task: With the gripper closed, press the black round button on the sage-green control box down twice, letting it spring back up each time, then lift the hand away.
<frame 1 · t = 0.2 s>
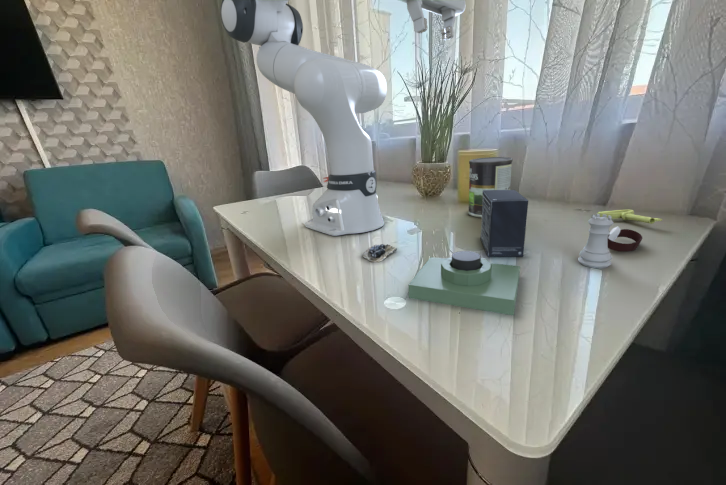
hand: (435, 35, 58), 39 cm above the table, tool pointing down, fingers open, 8 cm apart
spray button: (465, 261, 47), point 4 cm above the table, slide at 0.1 cm
small box: (500, 248, 62), on the table
blueberries: (379, 255, 64), on the table
watch: (621, 248, 58), on the table
coffee can: (488, 213, 86), on the table
button box: (465, 288, 48), on the table
rook chess piece: (593, 264, 52), on the table
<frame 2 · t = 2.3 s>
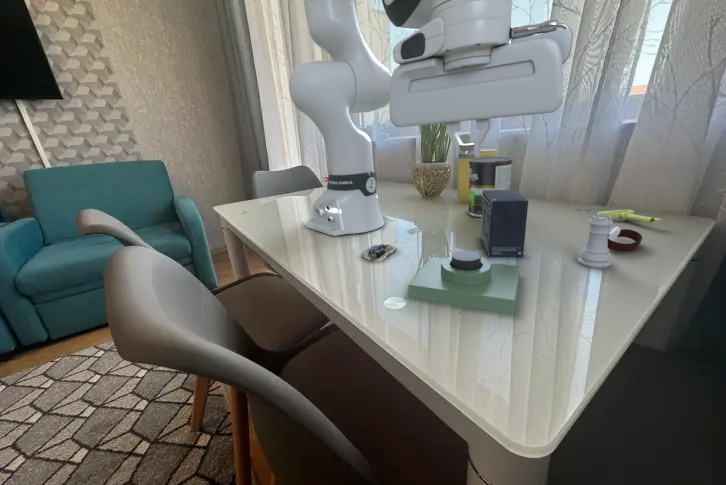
hand: (467, 158, 42), 19 cm above the table, tool pointing down, fingers closed
nothing on the table moved.
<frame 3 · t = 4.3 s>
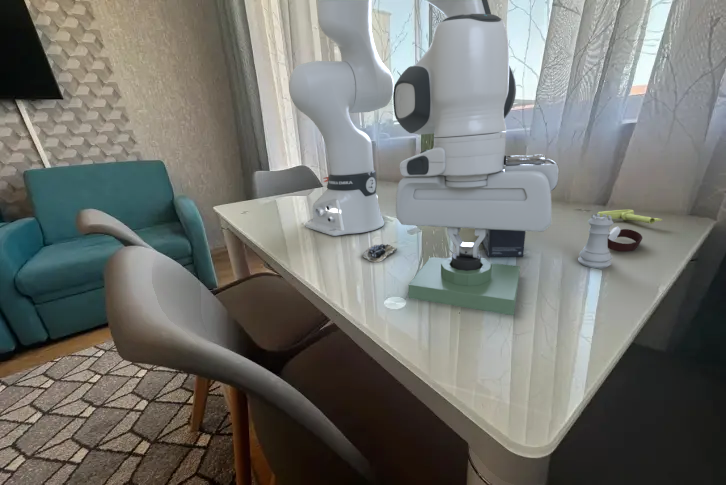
hand: (467, 256, 46), 5 cm above the table, tool pointing down, fingers closed, pressing on spray button
spray button: (465, 261, 47), point 4 cm above the table, slide at 0.0 cm, touching gripper
everything else where it was.
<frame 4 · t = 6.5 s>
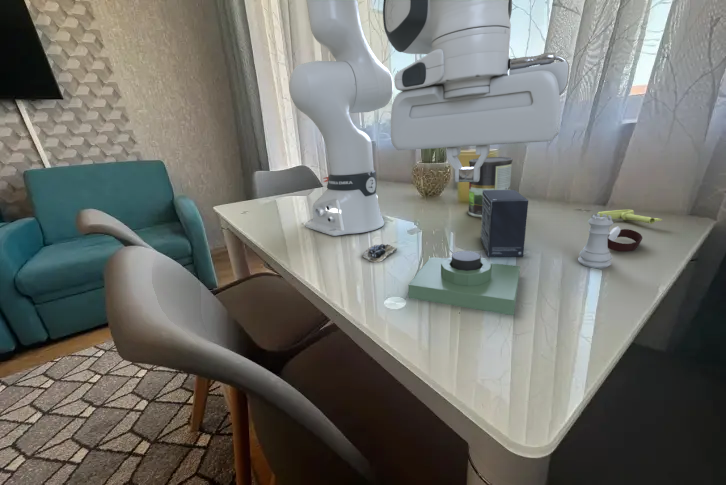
hand: (467, 181, 43), 16 cm above the table, tool pointing down, fingers closed
spray button: (465, 261, 47), point 4 cm above the table, slide at 0.1 cm
everything else where it was.
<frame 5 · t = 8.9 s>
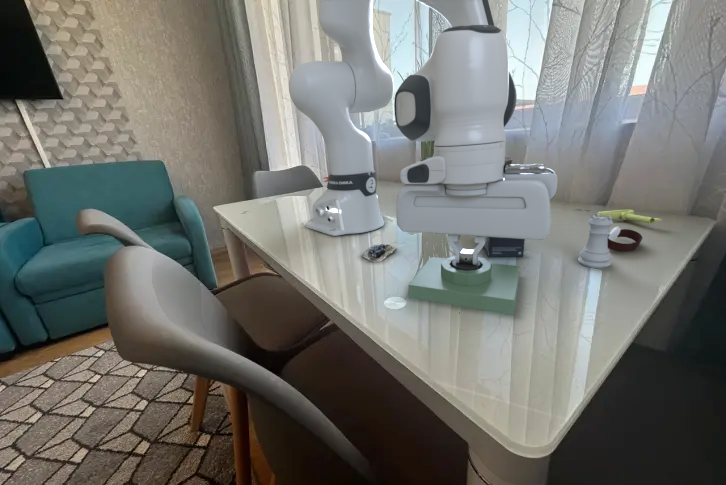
hand: (467, 262, 47), 4 cm above the table, tool pointing down, fingers closed, pressing on spray button
spray button: (465, 268, 47), point 3 cm above the table, slide at -1.0 cm, touching gripper
everything else where it was.
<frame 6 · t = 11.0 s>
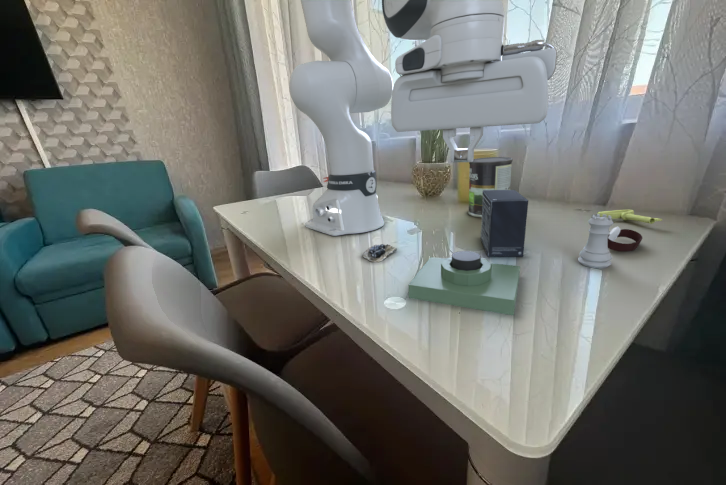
hand: (461, 161, 46), 18 cm above the table, tool pointing down, fingers closed
spray button: (465, 261, 47), point 4 cm above the table, slide at 0.1 cm
everything else where it was.
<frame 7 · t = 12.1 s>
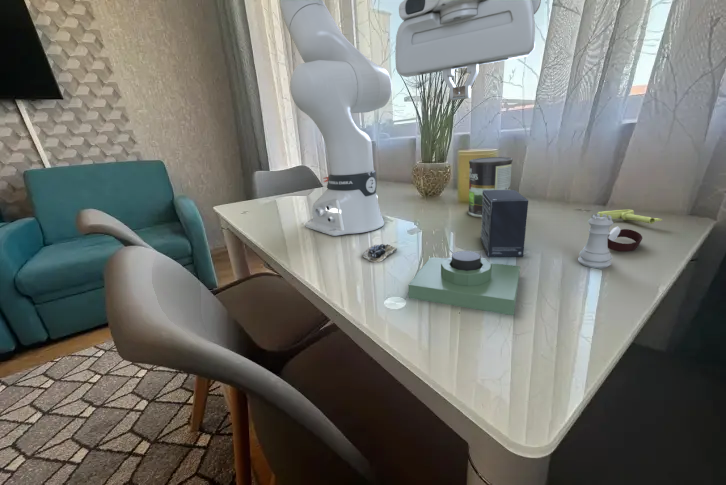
hand: (460, 99, 51), 27 cm above the table, tool pointing down, fingers closed
nothing on the table moved.
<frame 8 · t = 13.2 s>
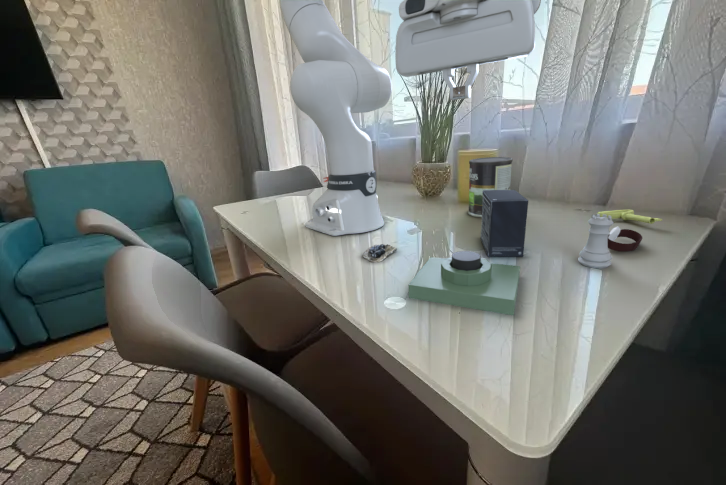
hand: (460, 99, 51), 27 cm above the table, tool pointing down, fingers closed
nothing on the table moved.
at the end: spray button pushed in 1.0 cm at the most during the clip, back to where it started at the end; spray button slide at 0.1 cm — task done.
